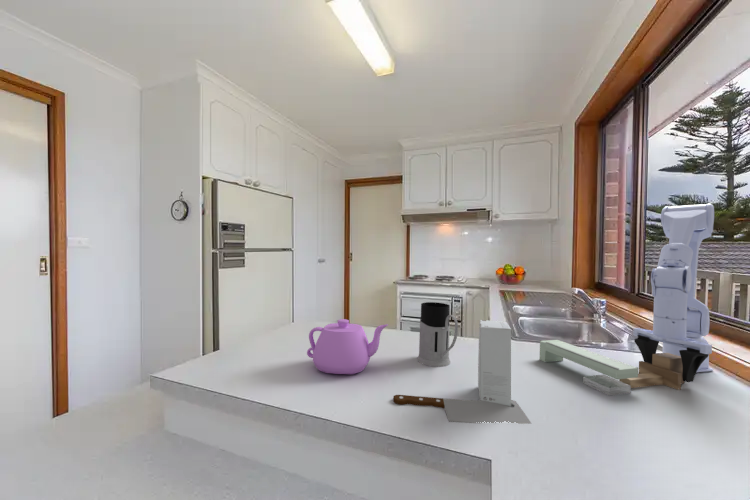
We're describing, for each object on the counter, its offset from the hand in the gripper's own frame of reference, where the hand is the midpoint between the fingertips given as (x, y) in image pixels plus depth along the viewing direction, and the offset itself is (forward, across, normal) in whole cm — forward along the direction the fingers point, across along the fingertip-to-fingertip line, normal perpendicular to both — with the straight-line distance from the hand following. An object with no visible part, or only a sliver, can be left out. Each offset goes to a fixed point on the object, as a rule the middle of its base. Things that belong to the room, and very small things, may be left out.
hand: (668, 374), depth 73 cm
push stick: (+2, 0, -5) cm, 6 cm away
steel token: (+2, 0, -19) cm, 19 cm away
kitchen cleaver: (+2, +2, -57) cm, 57 cm away
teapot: (+2, -22, -74) cm, 77 cm away
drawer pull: (+2, -7, -17) cm, 19 cm away
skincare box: (+2, -2, -47) cm, 47 cm away
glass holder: (+2, -20, -50) cm, 53 cm away
